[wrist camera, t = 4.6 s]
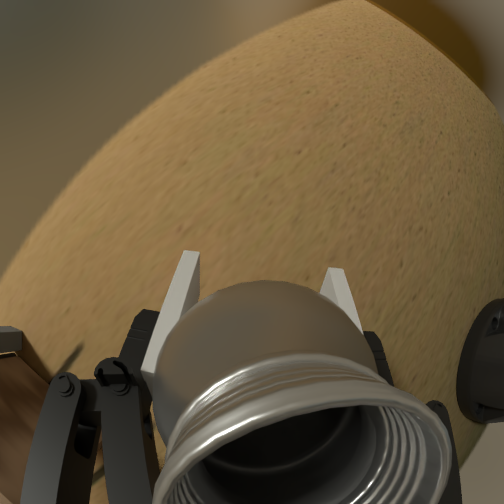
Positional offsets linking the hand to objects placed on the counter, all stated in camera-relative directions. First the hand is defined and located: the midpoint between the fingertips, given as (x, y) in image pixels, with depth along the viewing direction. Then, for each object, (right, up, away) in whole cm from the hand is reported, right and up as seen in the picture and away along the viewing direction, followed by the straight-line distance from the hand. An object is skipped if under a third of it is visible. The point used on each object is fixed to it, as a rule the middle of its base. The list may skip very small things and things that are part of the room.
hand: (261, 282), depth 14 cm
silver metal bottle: (-1, -5, +8) cm, 9 cm away
